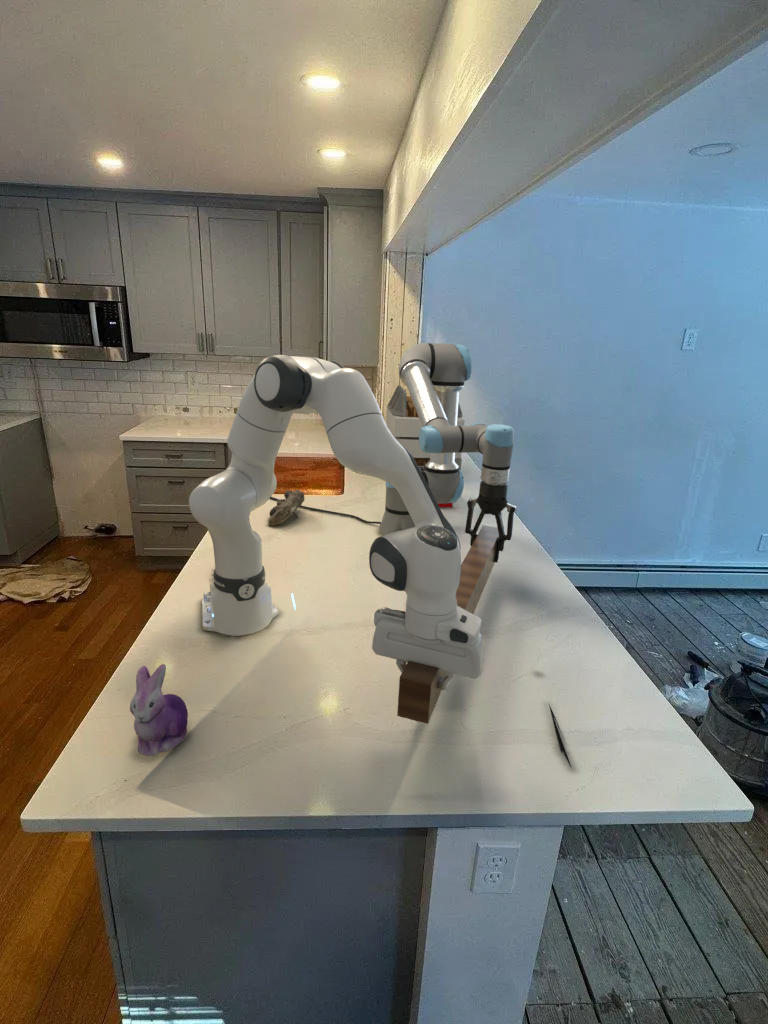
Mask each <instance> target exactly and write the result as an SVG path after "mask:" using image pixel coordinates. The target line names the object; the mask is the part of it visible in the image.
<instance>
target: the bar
mask: <svg viewBox="0 0 768 1024" xmlns="http://www.w3.org/2000/svg"><path fill="white" fill-rule="evenodd" d="M477 534H478V535H477V537H476V539H475V540H474V542H473V544H472V546H470V548H469V550H468V551H467V553H466V555H465V557H464V559H463V560H462V561H461V571H460V581H459V586H458V588H457V591H456V599H457V606H459V607H460V608H462V609H464V610H466V611H468V612H469V613H471V614H473V615H475V614H474V613H475V612H476V609H477V607H478V604H479V602H480V599H481V597H482V594H483V592H484V590H485V588H486V585H487V582H488V580H489V578H490V576H491V573H492V571H493V568H494V566H495V563H496V562H494V561H495V553H496V545H497V540H498V538H499V533H498V528H497V526H490V525H485V524H483V525H482V526H481V528H480V529H479V531H478V532H477ZM406 664H407V665H406V666H405V668H404V670H403V672H401V674H400V676H399V681H398V682H399V683H398V699H397V714H396V716H398V717H401V718H404V719H407V720H411V721H415V722H417V723H422V724H426V725H428V724H429V722H430V720H431V717H432V715H433V713H434V710H435V709H436V705H437V703H438V701H439V698H440V696H441V694H442V691H443V690H441V689H438V686H439V685H438V683H439V680H440V677H441V676H443V677H445V676H446V675H445V674H446V672H445V671H441V670H439V668H438V667H433V666H429V665H425V664H421V663H417V662H413V661H408V662H406Z"/></svg>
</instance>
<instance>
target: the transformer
mask: <svg viewBox="0 0 768 1024" xmlns="http://www.w3.org/2000/svg"><path fill="white" fill-rule="evenodd" d="M407 394H408V393H407V390H406V389H404V388H403V387H402V385H399V384H398V385H397V386H396V388H395V390H394V392H393V394H392V395H391V398H390V400H389V402H388V404H387V405H386V413H385V414H386V415H385V423H386V425H387V427H388V429H389V430H390V432H391V433H392V435H393V436H394V438H395V439H396V440H397V441H398V442H399V443H400V445H402V446H403V447H405V448H406V449H407V450H408V451H409V452H410V453H411V455H412V456H413V458H414V459H415V461H416V463H417V465H418V467H425V465H426V464H427V463H428V462H429V461H430V453H425V452H423V451H422V450H421V448H420V442H419V433H420V430H421V428H422V425H421V422H420V419H419V417H418V414H417V411H416V409H415V406H414V404H413V401H412V398H411V396H410V395H407ZM457 426H465V419H464V418H463V411H462V408H461V405H460V401H459V402H458V417H457ZM462 461H463V460H462V453H459V452H458V453H455V463H456V464H457V465H458V466H459V469H458V470H460V471H461V472H462Z"/></svg>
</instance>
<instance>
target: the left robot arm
mask: <svg viewBox="0 0 768 1024" xmlns="http://www.w3.org/2000/svg"><path fill="white" fill-rule="evenodd" d="M382 413H383V412H382V410H381V409H380V405H379V402H378V400H377V398H376V397H375V394H374V393H373V390H372V389H371V386H370V385H369V383H368V381H367V380H366V378H365V377H364V375H363V373H361V372H360V371H358V370H356V369H355V368H350V367H346V366H345V365H343V364H342V363H339V362H337V361H333V360H326V359H322V358H319V357H314V356H295V355H293V356H292V355H291V356H290V355H287V354H275V355H271V356H270V355H269V356H267V357H265V358H264V359H263V360H261V361H260V363H259V364H258V365H257V367H256V370H255V373H254V375H253V376H252V378H251V379H250V381H249V383H248V385H247V386H246V389H245V390H244V393H243V395H242V397H241V399H240V402H239V404H238V407H237V410H236V413H235V415H234V419H233V421H232V424H231V428H230V430H229V433H228V436H227V439H226V440H227V441H226V443H227V448H228V449H229V450H230V452H231V458H230V463H229V465H228V466H227V468H226V469H225V470H224V471H221V472H219V473H217V474H215V475H212V476H210V477H208V478H206V479H204V480H203V481H201V482H200V484H198V485H197V486H196V487H195V488H194V489H193V490H192V491H191V492H190V495H189V498H188V507H189V511H190V513H191V515H192V517H193V519H194V520H195V521H196V522H197V523H198V524H200V525H201V526H204V527H205V528H206V529H207V531H208V534H209V535H210V538H211V541H212V547H213V557H214V570H213V574H212V580H213V581H212V582H210V584H209V591H205V592H202V594H203V595H202V597H203V598H202V599H201V619H202V620H201V621H202V630H204V631H207V632H216V633H219V634H222V635H227V636H235V637H237V636H247V635H252V634H255V633H258V632H261V631H262V630H264V629H265V628H267V627H268V626H269V625H270V624H271V623H272V622H271V621H273V619H275V617H277V616H278V615H279V609H278V608H277V607H276V606H275V605H273V595H272V587H271V585H269V584H268V583H267V582H266V571H265V566H264V565H263V540H262V538H261V536H260V534H259V533H257V532H256V531H254V530H253V529H252V525H251V521H250V516H251V515H250V514H251V512H253V511H255V510H257V509H258V508H260V507H262V506H264V505H265V504H266V503H268V501H269V500H270V499H271V498H270V497H273V495H274V494H275V492H276V490H277V486H278V483H277V482H278V481H277V477H276V476H277V475H276V474H275V464H276V460H277V457H278V453H279V451H280V448H281V446H282V442H283V440H284V437H285V435H286V432H287V430H288V427H289V424H290V421H291V419H292V416H293V414H300V415H310V414H319V416H320V418H321V421H322V424H323V427H324V430H325V433H326V436H327V439H328V442H329V445H330V449H331V451H332V453H333V455H334V457H335V458H336V460H337V462H338V463H339V464H340V465H341V466H343V467H345V468H346V469H347V470H349V471H351V472H353V473H356V474H360V475H364V476H369V477H374V478H377V479H380V480H382V481H384V482H385V483H386V482H388V483H390V484H391V485H393V486H394V487H395V488H396V489H397V491H398V492H399V494H400V496H401V498H402V500H403V502H404V504H405V506H406V508H407V510H408V512H409V514H410V516H411V518H412V520H413V522H414V524H415V527H413V528H409V529H406V530H400V531H396V532H392V533H389V534H386V535H381V536H378V537H376V538H375V539H374V540H373V542H372V544H371V546H370V549H369V555H368V564H369V569H370V573H371V575H372V576H373V577H374V578H375V580H377V582H379V583H380V584H382V585H384V586H386V587H388V588H390V589H392V590H394V591H398V592H404V593H405V594H406V599H405V610H400V609H393V608H390V607H388V606H387V607H385V606H384V607H382V608H379V609H376V610H375V611H374V614H373V624H374V626H375V629H374V633H373V637H372V643H371V649H372V651H373V652H374V654H375V655H377V656H381V657H386V658H388V659H393V660H396V662H395V663H396V665H397V668H398V669H399V671H400V673H402V672H403V670H404V668H405V666H406V665H407V663H408V661H413V662H417V663H421V664H425V665H429V666H433V667H438V668H439V670H441V671H445V672H446V674H445V675H446V676H445V677H443V676H441V677H440V680H439V683H438V685H439V686H438V689H441V690H442V691H445V692H446V691H447V689H448V685H449V682H450V681H451V680H452V679H453V678H454V676H455V675H458V676H462V677H466V678H470V679H474V680H475V679H477V678H479V677H480V676H481V675H482V673H483V671H484V670H483V669H484V664H485V640H484V637H483V634H482V633H481V629H482V619H481V617H479V616H477V615H475V614H471V613H469V612H468V611H466V610H464V609H462V608H460V607H459V606H457V599H456V591H457V588H458V586H459V581H460V571H461V564H462V553H461V541H460V538H459V535H458V534H457V532H456V530H455V529H454V527H453V526H452V525H451V524H450V522H449V521H448V519H447V518H446V516H445V515H444V513H443V511H442V510H441V507H439V506H438V504H437V502H436V500H435V498H434V496H433V494H432V492H431V490H430V488H429V486H428V484H427V482H426V480H425V478H424V476H423V474H422V472H421V471H422V469H421V467H420V466H418V465H417V463H416V461H415V459H414V458H413V456H412V455H411V453H410V452H409V451H408V450H407V449H406V448H405V447H403V446H402V445H400V443H399V442H398V441H397V440H396V439H395V438H394V436H393V435H392V433H391V432H390V430H389V429H388V427H387V423H386V420H385V419H384V416H383V414H382ZM420 469H421V470H420ZM290 594H291V601H292V604H293V605H292V606H293V608H294V611H296V610H297V609H296V608H297V606H296V602H295V598H294V593H293V592H292V593H290Z"/></svg>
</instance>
